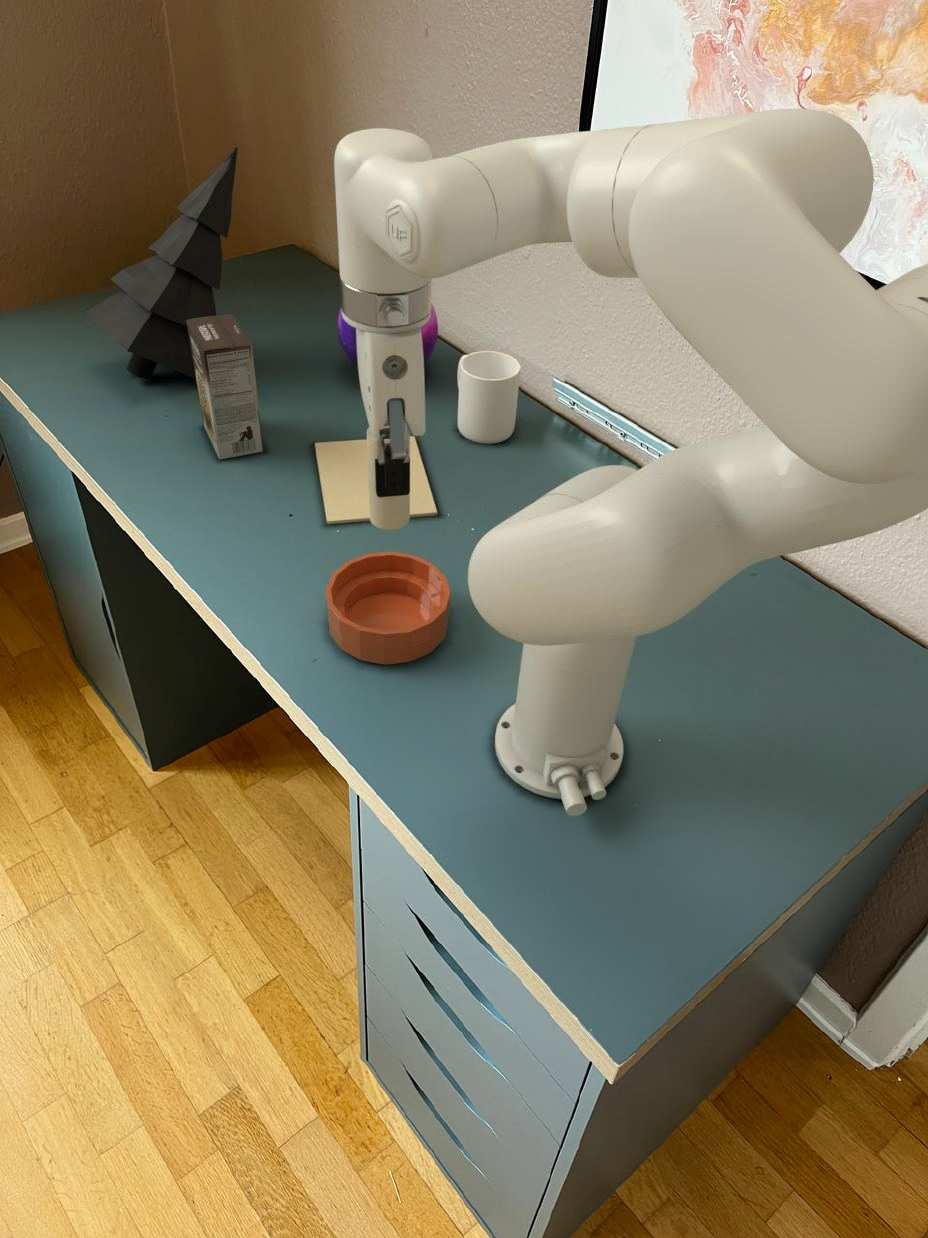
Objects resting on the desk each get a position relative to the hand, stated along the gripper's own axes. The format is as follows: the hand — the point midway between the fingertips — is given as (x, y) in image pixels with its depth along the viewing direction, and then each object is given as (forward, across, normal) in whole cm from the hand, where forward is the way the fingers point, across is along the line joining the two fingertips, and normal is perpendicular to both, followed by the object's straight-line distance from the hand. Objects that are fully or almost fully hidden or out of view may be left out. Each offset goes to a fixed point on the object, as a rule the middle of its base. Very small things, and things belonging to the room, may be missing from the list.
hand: (389, 478), depth 89 cm
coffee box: (+19, +40, +16) cm, 47 cm away
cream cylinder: (+5, 0, 0) cm, 5 cm away
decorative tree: (+19, +62, +22) cm, 69 cm away
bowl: (+20, 0, 0) cm, 20 cm away
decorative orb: (+19, +56, -8) cm, 60 cm away
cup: (+19, +40, -19) cm, 48 cm away
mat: (+19, +28, -2) cm, 34 cm away
